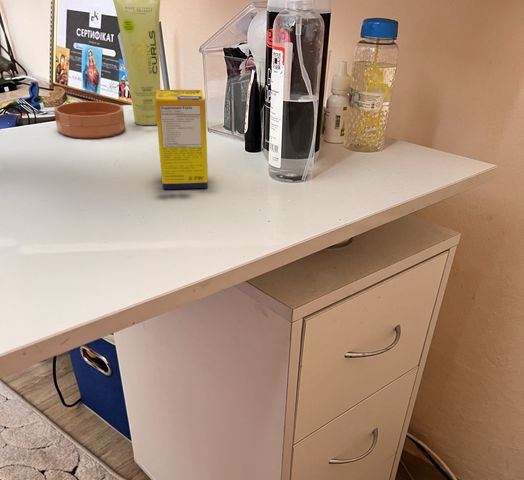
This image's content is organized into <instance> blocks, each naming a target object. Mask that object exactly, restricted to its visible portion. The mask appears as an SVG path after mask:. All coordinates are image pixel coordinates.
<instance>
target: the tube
mask: <svg viewBox="0 0 524 480" xmlns="http://www.w3.org/2000/svg"><path fill="white" fill-rule="evenodd" d="M112 1H113V5H114V8H115V13H116V18H117V23H118V28H119V32H120V37H121V43H122V48H123V54H124V59H125V66H126V72H127V78H128V84H129V92H130V98H131V105H132V106H131V107H132V112H133V113H132V114H133V119H134V123H135V124H137V125H139V126H154V125H157V112H156V90H161V69H160V66H161V65H160V63H161V62H160V9H161V0H112Z"/></svg>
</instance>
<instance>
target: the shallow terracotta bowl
mask: <svg viewBox="0 0 524 480" xmlns="http://www.w3.org/2000/svg"><path fill="white" fill-rule="evenodd" d="M53 112H54V113H53V114H54V118H55V124H56V129H57V131H58V132H60V133H61V134H62V135H64V136H67V137H70V138H76V139H104V138H109V137H114V136H117V135H120V134H121V133H122V132H123V131H125V130H126V122H125V112H124V106H122V105H120V104H118V103H114V102H108V101H94V100H92V101H91V100H90V101H89V100H88V101H75V102H68V103H63V104H59V105H57V106H55V107H54V109H53Z"/></svg>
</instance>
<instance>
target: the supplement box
mask: <svg viewBox="0 0 524 480" xmlns="http://www.w3.org/2000/svg"><path fill="white" fill-rule="evenodd" d="M206 108H207V105H206V99H205V95H204V93H203V90H202V89H160V90H156V112H157V124H156V125H157V136H158V150H159V161H160V172H161V173H160V174H161V181H162V190H177V189H178V190H179V189H208V187H209V172H208V142H207V141H208V139H207V113H206V112H207V111H206V110H207V109H206Z"/></svg>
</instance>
